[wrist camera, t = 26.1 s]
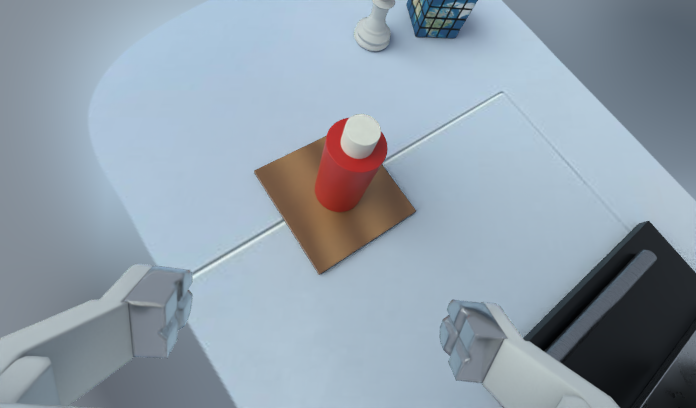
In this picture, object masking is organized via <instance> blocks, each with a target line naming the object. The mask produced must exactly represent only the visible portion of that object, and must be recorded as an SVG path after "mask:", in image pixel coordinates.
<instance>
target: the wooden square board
mask: <svg viewBox="0 0 696 408" xmlns="http://www.w3.org/2000/svg"><path fill="white" fill-rule="evenodd" d="M325 141H326V136H325V137H323V138H321V139H319V140H317V141H315V142H313V143H311V144H309V145H307V146H304V147H302V148H300V149H298V150H296V151H294V152H292V153H290V154H288V155H286V156H284V157H282V158H280V159H278V160H275V161H273V162H271V163H269V164H267V165H265V166H263V167H261V168H259V169H257V170H255V171H254V173H255V175H256V176H257V178H258V180H259V181H260V183H261V184H262V186H263V187H264V189H265V191H266V192H267V194H268V195H269V197H270V198H271V200H272V202H273V203H274V205H275V206H276V208H277V210H278V211H279V213H280V214H281V216H282V217H283V219H284V221H285V222H286V224H287V225H288V227H289V228H290V230H291V232H292V233H293V235H294V236H295V238H296V239H297V241H298V243H299V244H300V246H301V247H302V249H303V251H304V252H305V254H306V255H307V257H308V258H309V260H310V262H311V263H312V265H313V266H314V268H315V269H316V271H317V273H318V274H319V275H320V274H321V273H323V272H324V271H326V270H328V269H329V268H331V267H332V266H334V265H335V264H337V263H338V262H340V261H341V260H343V259H344V258H346V257H347V256H349V255H350V254H352V253H353V252H355V251H357V250H358V249H360V248H361V247H363V246H364V245H366V244H367V243H369V242H370V241H372V240H373V239H375V238H376V237H378V236H379V235H381V234H383V233H384V232H386V231H387V230H389V229H390V228H392V227H393V226H395V225H396V224H398V223H399V222H401V221H402V220H404V219H405V218H407V217H408V216H410V215H412V214H413V213H415V212H416V210H415V209H414V207H413V206H412V205H411V203H410V202H409V201H408V199H407V198H406V197H405V195H404V194H403V192H402V191H401V190H400V188H399V187H398V186H397V184H396V183H395V182H394V180H393V179H392V178H391V176H390V175H389V173H388V172H387V171H386V169H385V168H384V167H383V165H381V166H380V168H379V170H378V171H377V173H376V174H375V176H374V178H373V179H372V181H371V183H370V184H369V186H368V187H367V189H366V191H365V192H364V194H363V196H362V197H361V199H360V201H359V202H358V204H357V205H356V206H355V207H354V208H352V209H350V210H348V211H345V212H335V211H331V210H329V209H327V208H325V207H324V206H323V205H322V204H321V203H320V202H319V201H318V199H317V197H316V194H315V183H316V179H317V174H318V170H319V166H320V162H321V157H322V153H323V149H324V145H325Z"/></svg>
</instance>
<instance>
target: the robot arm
mask: <svg viewBox="0 0 696 408" xmlns="http://www.w3.org/2000/svg"><path fill="white" fill-rule="evenodd" d="M191 284H192V272H191V271H190V270H185V269H177V268H170V267H162V266H153V265H145V264H134V265H132V266H131V267H130V268H129V269H128V270H127V271H126V272H125V273H124V274H123V275H122V276H121V278H119V279H118V281H117V282H116V283H115V284H114V285H113V286H112V287H111V288H110V289H109V290H108V291H107V292H106V293H105V294H104V296H102V298H100V300H95V299H93V300H90V301H88V302H86V303H83V304H81V305H79V306H76V307H74V308H71V309H69V310H67V311H64V312H62V313H59V314H57V315H55V316H52V317H50V318H47V319H45V320H43V321H40V322H38V323H36V324H33V325H31V326H28V327H26V328H24V329H21V330H19V331H16V332H14V333H12V334H10V335H7V336H5V337H2V338H0V408H92V407H73V406H69V405H71V404H72V403H74V402H75V401H76V400H78V399H79V398H80V397H82V396H83V395H84V394H86V393H87V392H88V391H90V390H91V389H93V388H94V387H95V386H96V385H98V384H99V383H101V382H102V381H103V380H105V379H106V378H107V377H109V376H110V375H112V374H113V373H114V372H116V371H117V370H118V369H120V368H121V367H122V366H124V365H125V364H126V363H128V362H129V361H130V360H132V359H133V357H147V358H168V356H169V354H170V352H171V350H172V349H173V347H174V345H175V343H176V341H177V339H178V333H177V332H178V330H180V329H181V328H183V327H184V326H185V324H186V322H187V320H188V317H189V314H190V311H191V306H192V293H191V292H190V291H189V290H188V289H189V287H190V285H191ZM447 311H448V313H449V315H448V316H447V317H446V318H444V319H443V320H442V323H441V326H440V342H441V345H442V348H443V350H444V351H445V352H446V353H447V354H449V355H450V358H449V361H448V362H449V365H450V367H451V370H452V372H453V374H454V377H455V379H456V381H466V382H475V383H482V385H483V386H484V387H485V388H486V389H487V390H488V392H489V393H490V394H491V395H492V396H493V397H494V398H495V399H496V400H497V401H498V402H499V403H500V404H501V405H502V406H503V407H504V408H620V407H619V406H618V405H617V404H616V402H615V401H614V400H613V399H612V398H611V397H610V396H608V395H607V394H606V393H604V392H603V391H601V390H600V389H598V388H597V387H595V386H594V385H592V384H591V383H589V382H588V381H587V380H585V379H584V378H582V377H581V376H579V375H578V374H576V373H575V372H573V371H572V370H571V369H569V368H568V367H566V366H565V365H563V364H562V363H560V362H559V361H557V360H556V359H554V358H553V357H552V356H550V355H549V354H547V353H546V352H544V351H543V350H541V349H540V348H538V347H537V346H535V345H534V344H533V343H531V342H530V341H525V340H524V339H523V338H522V336H521V335H520V333H519V332H518V331H517V329H516V328H515V326H514V325H513V324H512V322H511V321H510V320H509V318H508V317H507V315H506V314H505V313H504V311H503V310H502V308H501V307H500V306H499V305H497V304H496V303H484V302H481V303H479V302H469V301H460V300H452V301H451V302H450V303H449V305H448V308H447Z"/></svg>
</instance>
